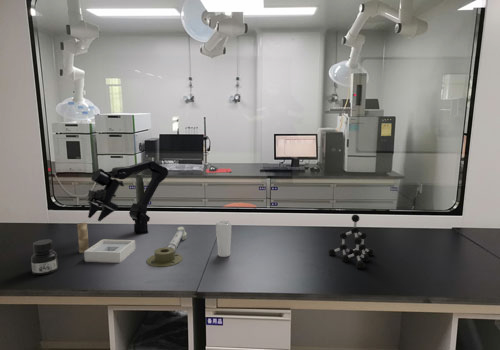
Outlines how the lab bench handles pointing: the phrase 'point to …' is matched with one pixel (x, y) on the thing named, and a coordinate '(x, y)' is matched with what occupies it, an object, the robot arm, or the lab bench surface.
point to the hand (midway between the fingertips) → (93, 219)
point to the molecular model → (359, 248)
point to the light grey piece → (177, 238)
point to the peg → (83, 237)
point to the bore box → (110, 251)
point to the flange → (164, 257)
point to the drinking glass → (223, 237)
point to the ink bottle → (44, 257)
